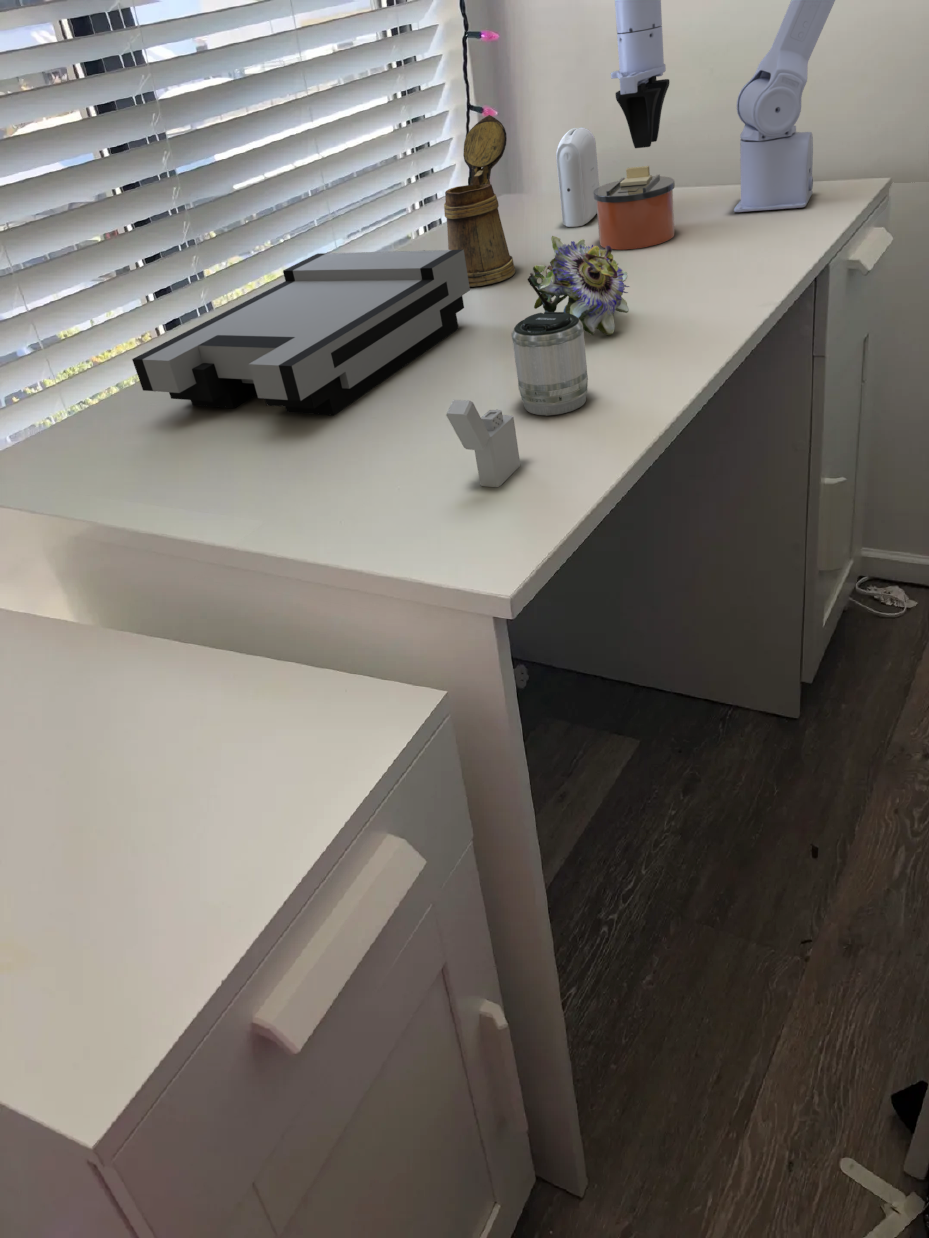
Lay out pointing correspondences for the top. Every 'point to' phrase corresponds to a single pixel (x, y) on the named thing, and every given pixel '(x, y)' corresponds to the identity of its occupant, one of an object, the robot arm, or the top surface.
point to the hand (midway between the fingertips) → (645, 144)
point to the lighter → (487, 440)
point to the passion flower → (582, 284)
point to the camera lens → (551, 362)
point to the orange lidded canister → (635, 213)
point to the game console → (316, 333)
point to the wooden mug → (480, 208)
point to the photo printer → (577, 176)
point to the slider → (637, 176)
